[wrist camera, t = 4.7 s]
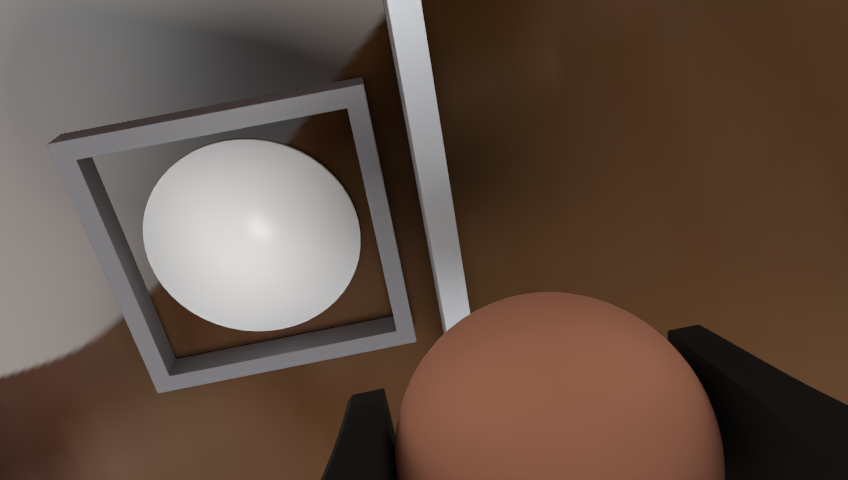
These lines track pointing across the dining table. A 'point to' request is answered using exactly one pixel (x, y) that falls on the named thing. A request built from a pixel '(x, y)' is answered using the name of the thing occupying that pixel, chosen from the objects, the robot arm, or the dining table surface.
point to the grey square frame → (242, 234)
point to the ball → (556, 399)
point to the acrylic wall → (428, 155)
